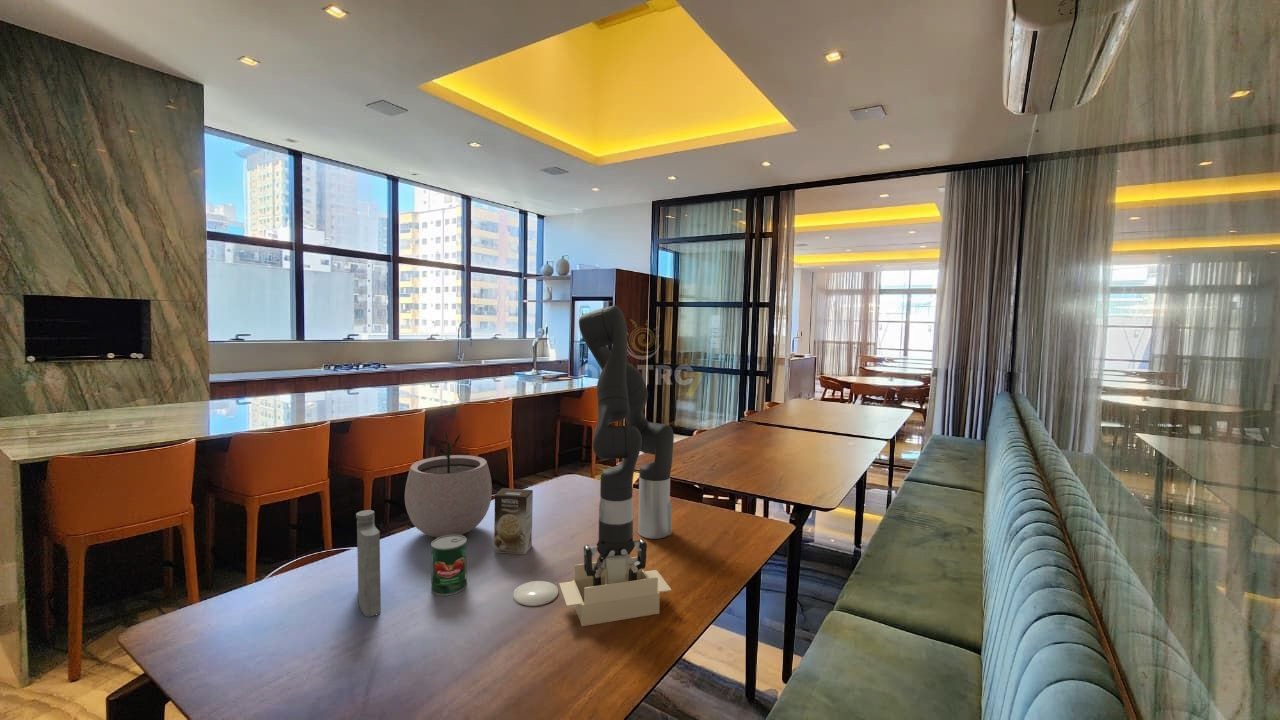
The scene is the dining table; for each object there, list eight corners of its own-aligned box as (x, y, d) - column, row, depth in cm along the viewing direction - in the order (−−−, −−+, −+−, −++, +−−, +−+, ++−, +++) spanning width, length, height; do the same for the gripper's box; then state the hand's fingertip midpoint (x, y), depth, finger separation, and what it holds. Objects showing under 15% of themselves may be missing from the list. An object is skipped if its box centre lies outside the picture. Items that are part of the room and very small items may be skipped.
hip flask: (381, 614, 110) (380, 522, 109) (359, 619, 108) (358, 525, 106) (374, 582, 123) (373, 499, 122) (355, 586, 121) (354, 502, 120)
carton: (655, 587, 124) (655, 554, 123) (672, 611, 113) (673, 575, 113) (558, 601, 116) (558, 566, 116) (567, 628, 106) (567, 590, 105)
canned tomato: (441, 599, 116) (440, 551, 116) (425, 587, 122) (424, 541, 121) (473, 586, 122) (473, 541, 121) (456, 575, 127) (456, 531, 127)
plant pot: (385, 541, 146) (384, 436, 144) (446, 513, 168) (446, 422, 166) (453, 557, 137) (453, 445, 135) (508, 525, 160) (508, 429, 158)
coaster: (554, 581, 125) (554, 578, 125) (561, 602, 116) (561, 599, 116) (511, 586, 122) (511, 584, 122) (515, 608, 113) (515, 606, 113)
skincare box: (604, 599, 118) (605, 547, 117) (623, 598, 118) (624, 546, 117) (604, 614, 111) (605, 559, 111) (625, 613, 112) (626, 559, 111)
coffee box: (492, 553, 140) (492, 494, 139) (501, 543, 147) (501, 487, 145) (525, 555, 139) (526, 496, 138) (533, 545, 146) (533, 489, 145)
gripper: (641, 507, 119) (640, 577, 120) (580, 513, 115) (579, 586, 116) (652, 519, 112) (651, 593, 113) (587, 526, 108) (586, 603, 109)
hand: (614, 589), depth 114 cm, fingers open, 7 cm apart
